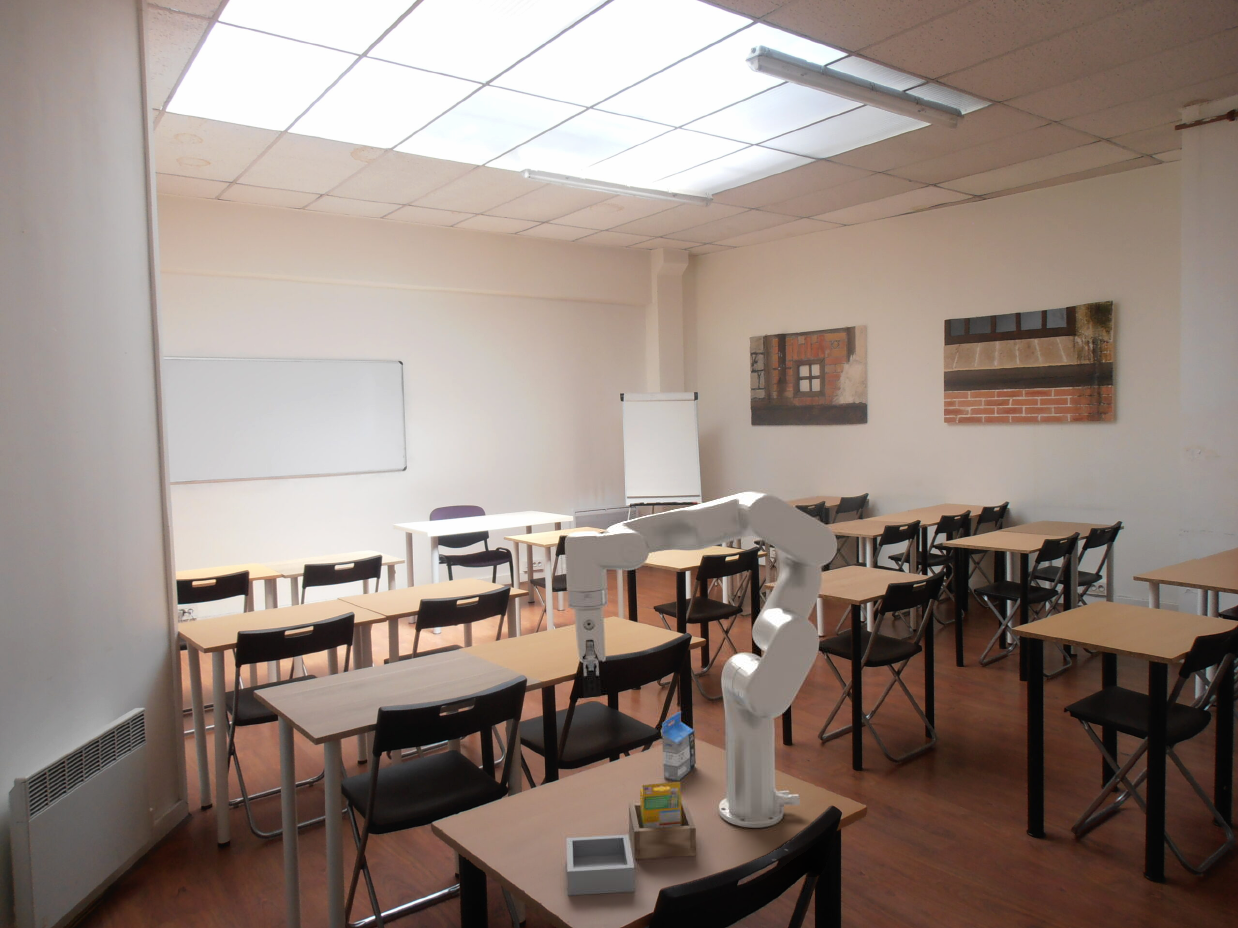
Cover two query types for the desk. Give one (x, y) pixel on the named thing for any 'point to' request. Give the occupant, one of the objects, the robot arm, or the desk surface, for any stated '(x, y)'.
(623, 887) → the block
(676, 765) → the label tape box
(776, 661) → the robot arm
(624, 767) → the desk surface
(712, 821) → the desk surface
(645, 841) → the sleeve block
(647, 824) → the crayon box
